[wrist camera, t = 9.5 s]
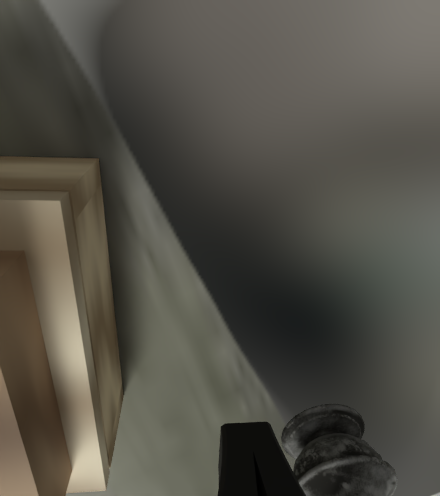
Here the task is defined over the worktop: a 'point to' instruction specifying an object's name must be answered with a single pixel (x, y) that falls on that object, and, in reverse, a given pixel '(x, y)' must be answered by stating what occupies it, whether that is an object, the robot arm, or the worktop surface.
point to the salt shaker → (335, 454)
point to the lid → (45, 354)
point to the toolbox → (83, 263)
